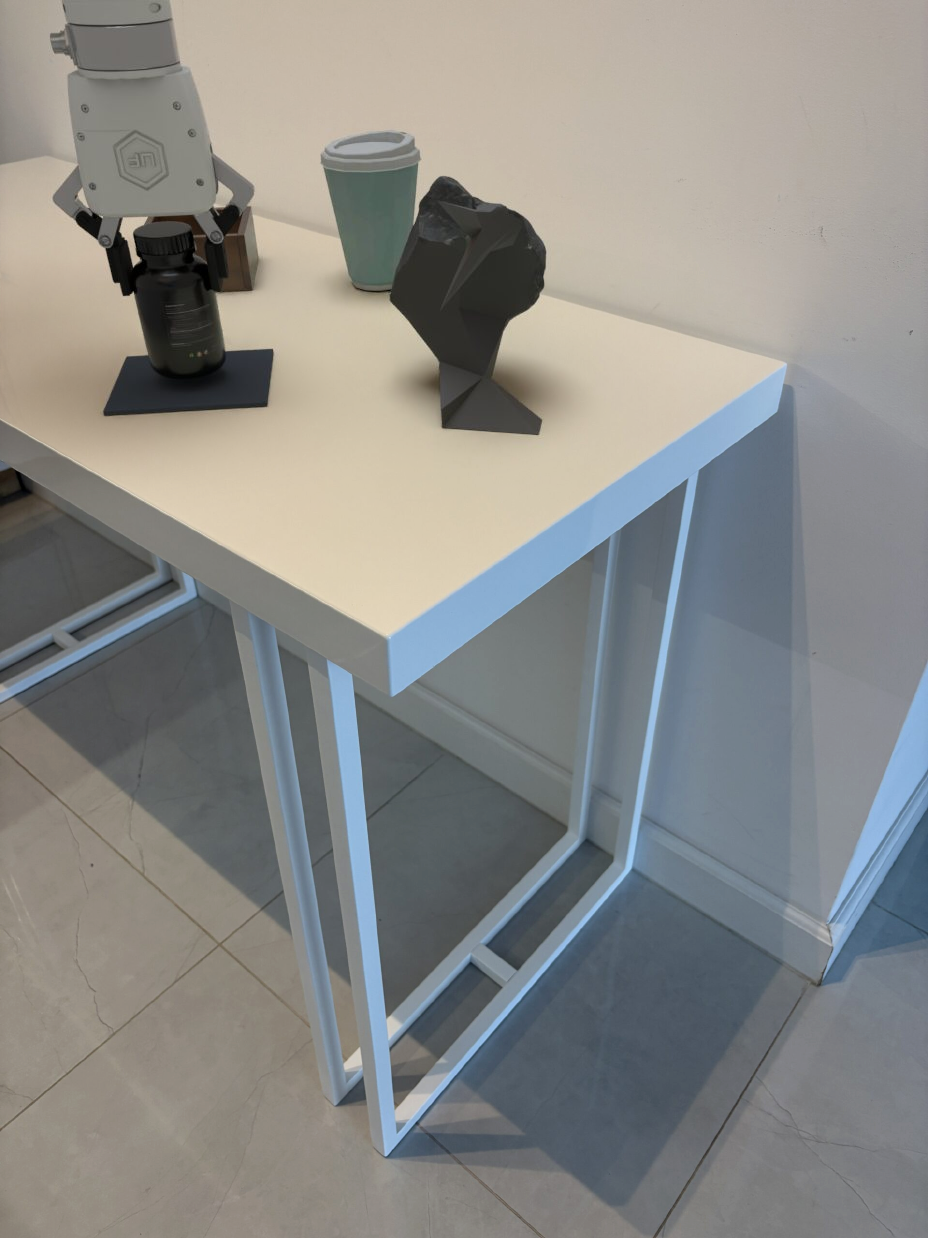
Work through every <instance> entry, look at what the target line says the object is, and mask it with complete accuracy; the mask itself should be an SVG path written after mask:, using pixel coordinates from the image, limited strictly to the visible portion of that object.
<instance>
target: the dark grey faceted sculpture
mask: <svg viewBox="0 0 928 1238" xmlns="http://www.w3.org/2000/svg"><path fill="white" fill-rule="evenodd" d="M546 268H547V248H546V245H545V243H544V241H543V240H542V238H541V237H540V236H539V235H538V234H537V232H536V230H535V228H534V227H533V225H532V223H531V222H530V220H528V218H527V217H525V216H524V215H522V214H521V213H519V212H518V211H516V210H514V209H510V208H509V207H507V205H505V204H502V203H497V202H496V203H494V202H487V201H485V200H484V201H483V200H482V199H480V198H479V197H476V196H473V195H472V194H471V193H470V192H469V191H468V190H467V189H466V188H465V187H464V186H463V185H462V184H461V183H460V182H459V181H458V180H456V179H455V178H453V177H451V176H447V175H440V176H438V177H437V178H436V179H435V180H434V181H433V183H432V184H431V185H430V187H429V189H428V191H427V192H426V193H425V195H424V196H423V197H422V198H421V199H420V201H419V203H418V212H417V216H416V217H415V220H414V223H413V227H412V229H411V231H410V234H409V237H408V240H407V242H406V245H405V248H404V251H403V253H402V256H401V258H400V262H399V264H398V266H397V268H396V271H395V276H394V280H393V284H392V288H391V289H390V294H389V302H390V303H391V304H392V305H393V307H395V309H397V310H398V311H399V313H400V314H401V315H402V316H403V317H404V318H405V320H406V321H408V323H409V324H410V326H411V327H412V328H413V329H414V331H415V332H416V333H417V334H418V336H419V337H420V338H421V340H422V341H423V342H424V343H425V345H426V346H427V347H428V349H429V350H430V351H431V353H432V354H433V355H434V357H435V358H436V360H437V361H438V379H439V398H440V399H439V400H440V401H439V402H440V416H441V417H440V418H441V419H440V420H441V428H442V429H443V428H444V429H457V430H470V431H471V430H473V431H485V432H498V433H499V432H500V433H511V434H513V433H514V434H528V435H540V431H541V427H542V424H543V423H542V422H543V419H542V418H541V417H540V416H538V414H536V413H535V412H534V411H532V410H531V409H530V408H528V406H526V405H525V404H524V403H523V402H521V401H520V400H519V399H517V398H516V397H515V396H514V395H513V394H511V393H510V392H509V391H508V390H507V389H505V388H504V387H503V386H502V385H500V384H499V383H498V382H496V381H495V380H494V379H493V375H494V370H495V367H496V363H497V359H498V354H499V351H500V347H501V343H502V338H503V334H504V332H505V330H506V329H507V326H508V324H509V323H510V321H511V320H513V319H515V318H516V317H518V316H519V315H522V314H524V313H525V312H528V311H529V310H530V309H531V308H532V307H533V306H534V305H535V304H536V303H537V302H538V300H539V299H540V296H541V293H542V291H543V290H544V289H545V279H544V276H545V272H546Z"/></svg>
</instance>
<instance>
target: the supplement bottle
mask: <svg viewBox="0 0 928 1238" xmlns="http://www.w3.org/2000/svg"><path fill="white" fill-rule="evenodd" d="M144 224H145V223H144ZM144 224H143V225H140V226H137V228H135V229H134V230H133V232H132V237H133V241H134V246H135V255H136V256H137V257H138V258H139V261H137V263H135V264H134V265H133V269H132V272H131V284H132V288H133V293H132V294H133V297H134V300H135V305H136V309H137V314H138V319H139V322H140V326H141V327H140V328H141V332H142V336H143V340H144V344H145V348H146V352H147V355H148V357H149V361H150V364H151V367H152V369H153V370H154V371H155V372H156V373H157V374H159V375H161V376H163V377H167V378H172V379H192V378H198V377H203V376H206V375H209V374H211V373H214V372H215V371H217V370H219V369H220V368H221V367H222V366H223V364H224V363H225V360H226V351H227V350H226V345H225V344H226V343H225V338H224V333H223V327H222V322H221V316H220V310H219V304H218V299H217V294H216V293H217V292H214V290H213V291H212V289H211V284H210V278H209V273H208V267H207V262H206V261H205V260H204V259H202V258H201V257H199V256H197V255H195V254H194V252H195V251H196V249H197V248H196V243H195V241H194V237H193V231H192V228H191V226H189V225H188V224H186V223H182V222H174V221H164V222H155V223H149V224H145V225H144ZM140 258H141V260H140Z"/></svg>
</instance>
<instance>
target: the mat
mask: <svg viewBox="0 0 928 1238" xmlns="http://www.w3.org/2000/svg"><path fill="white" fill-rule="evenodd" d="M273 360H274V348H260V349H242V350H241V349H240V350H226V360H225V363H224V364H223V366H222V367H221V368H220V369H219V370H217V371H215V372H214V373H211V374H209V375H206V376H203V377H198V378H192V379H172V378H167V377H163V376H161V375H159V374H157V373H156V372H155V371H154V370H153V369H152V367H151V364H150V361H149V357H148V354H147V355H145V354H144V355H127V356H126V357H125V358H124V361H123V363H122V366H121V368H120V371H119V373H118V375H117V377H116V380H115V382H114V385H113V387H112V389H111V391H110V394H109V397H108V399H107V401H106V403H105V405H104V408H103V411H102V414H103V416H117V415H118V416H119V415H134V414H150V413H151V414H153V413H155V414H156V413H170V412H188V411H204V410H205V411H206V410H219V409H222V410H223V409H238V408H239V409H240V408H241V409H242V408H258V407H267V406H268V402H269V401H268V400H269V393H270V386H271V376H272V368H273Z"/></svg>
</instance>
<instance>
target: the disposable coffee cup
mask: <svg viewBox="0 0 928 1238" xmlns="http://www.w3.org/2000/svg"><path fill="white" fill-rule="evenodd" d="M420 161H422V158H421V150H420V149H419V148H418V147H416V141H415V136H413V135H412V134H410V133H409V132H406V131H401V130H394V129H389V130H377V131H368V132H363V133H358V134H352V135H347V136H345V137H342V138H339V139H336V140H332V141H331V142H330V143H328V144H327V145H325V147H324V150H323V151H321V153H320V165H321V166H322V167H323V171H324V176H325V180H326V185H327V188H328V193H329V197H330V201H331V205H332V209H333V214H334V218H335V222H336V226H337V231H338V235H339V239H340V243H341V247H342V252H343V256H344V260H345V264H346V267H347V273H348V277H349V278H350V279H351V283H352V284H353V286H354V287H355V288H357V289H360V290H363V291H373V292H374V291H378V292H380V291H381V292H383V291H388V290H390V291H391V288H392V284H393V280H394V276H395V271H396V268H397V266H398V264H399V262H400V258H401V256H402V253H403V251H404V248H405V245H406V242H407V240H408V237H409V234H410V231H411V229H412V227H413V225H414V223H415V209H416V197H417V183H418V173H419V162H420Z"/></svg>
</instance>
